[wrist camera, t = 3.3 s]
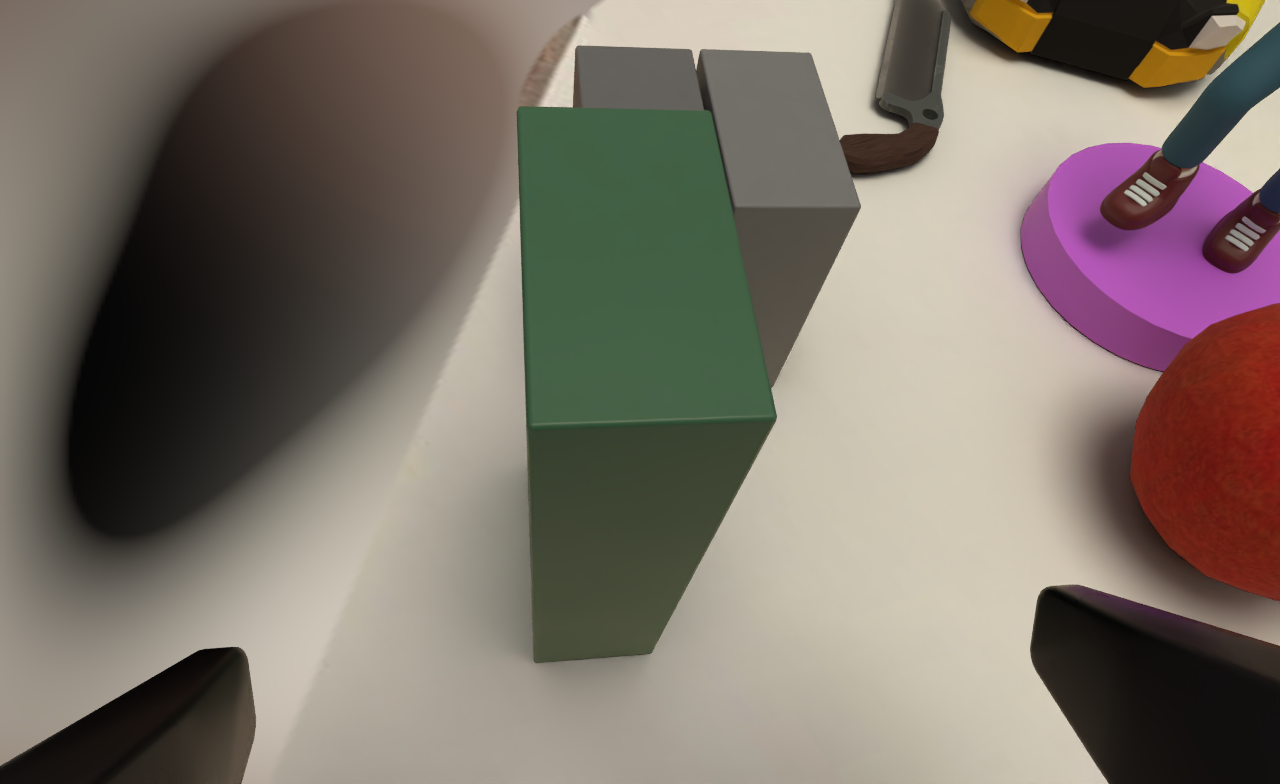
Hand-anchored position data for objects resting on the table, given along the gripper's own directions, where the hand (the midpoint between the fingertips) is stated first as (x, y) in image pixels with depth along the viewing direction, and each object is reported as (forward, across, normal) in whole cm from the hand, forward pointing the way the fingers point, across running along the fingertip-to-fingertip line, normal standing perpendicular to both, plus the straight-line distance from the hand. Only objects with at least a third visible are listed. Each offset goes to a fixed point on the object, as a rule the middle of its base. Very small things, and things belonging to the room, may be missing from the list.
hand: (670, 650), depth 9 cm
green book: (+12, 0, +5) cm, 13 cm away
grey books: (+17, -3, -1) cm, 18 cm away
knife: (+26, -15, -10) cm, 32 cm away
